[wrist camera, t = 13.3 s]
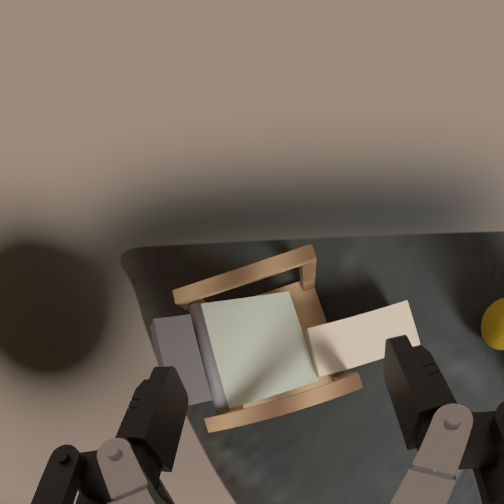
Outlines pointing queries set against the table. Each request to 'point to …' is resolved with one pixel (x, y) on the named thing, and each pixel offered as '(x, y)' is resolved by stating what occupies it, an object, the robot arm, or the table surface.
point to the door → (235, 349)
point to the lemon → (494, 325)
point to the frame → (308, 317)
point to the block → (358, 338)
